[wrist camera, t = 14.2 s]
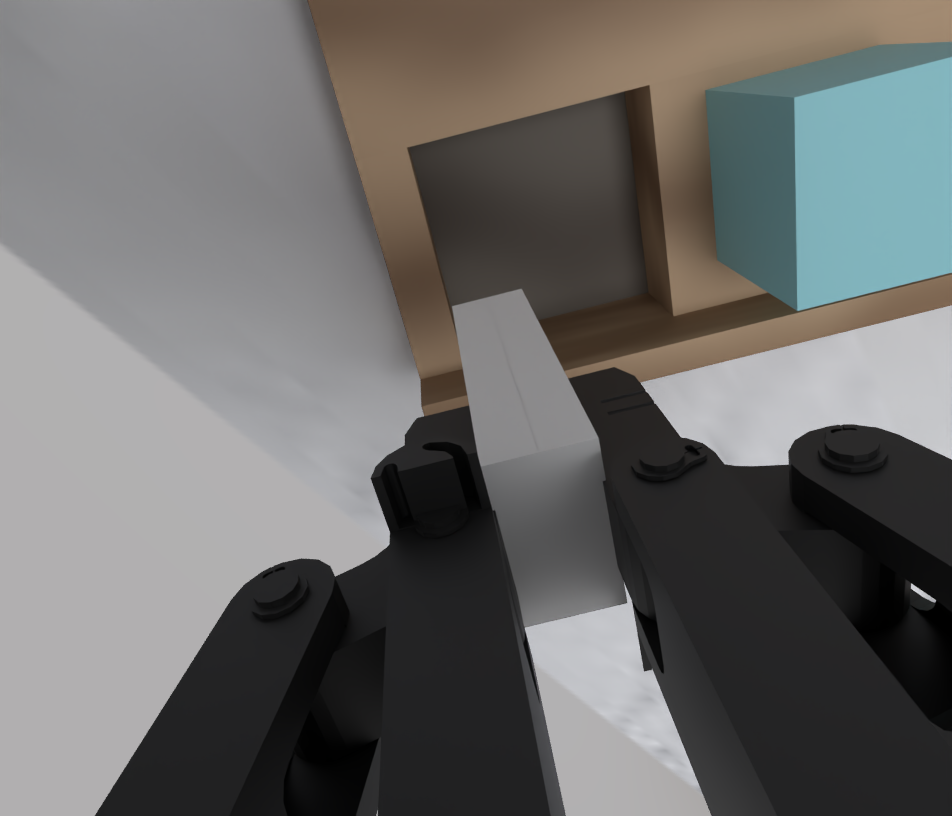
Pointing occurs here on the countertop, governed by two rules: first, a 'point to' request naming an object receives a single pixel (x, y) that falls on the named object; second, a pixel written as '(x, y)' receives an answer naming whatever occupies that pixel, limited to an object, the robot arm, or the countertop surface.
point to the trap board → (582, 168)
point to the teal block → (836, 173)
